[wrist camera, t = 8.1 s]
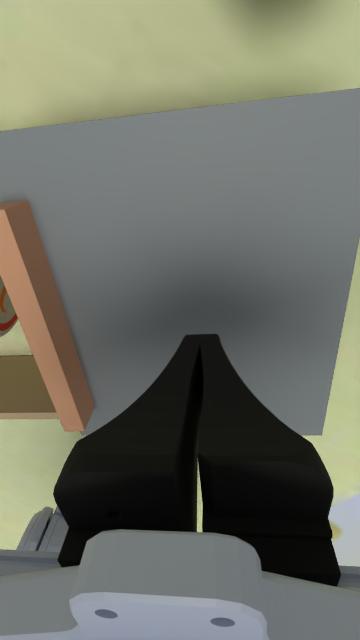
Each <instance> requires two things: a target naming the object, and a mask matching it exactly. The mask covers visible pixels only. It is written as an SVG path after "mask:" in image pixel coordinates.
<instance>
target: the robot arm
mask: <svg viewBox="0 0 360 640" xmlns="http://www.w3.org/2000/svg"><path fill="white" fill-rule="evenodd" d="M198 463H199V473H200V482H201V492H202V501H203V521H202V531H203V532H197V466H198ZM53 495H54V498H55V502H56V504H57V507H56V510H55V512H54V514H53V508H50V507H45V508H44V509H43V510H42V511H39V512H38V513H36V514H34V516H33V517H32V519H31V521H30V522H29V524H28V526H27V528H26V530H25V532H24V534H23V536H22V538H21V541H20V543H19V545H18V547H17V549H16V550H2V549H0V640H360V567H356V566H339V565H338V562H337V558H336V555H335V552H334V548H333V545H332V541H331V539H332V530H331V527H330V523H329V520H328V515H329V511H330V507H331V503H332V499H333V485H332V482H331V479H330V477H329V474H328V472H327V470H326V468H325V466H324V464H323V462H322V460H321V458H320V456H319V454H318V453H317V451H316V449H315V448H314V446H313V444H312V443H311V442H309V441H308V440H306V439H305V438H303V437H302V436H301V435H299V434H298V433H296V432H295V431H293V430H292V429H290V428H289V427H288V426H287V425H285V424H284V423H283V422H282V421H281V420H279V419H278V418H277V417H276V416H275V415H274V414H273V413H272V412H271V411H270V410H269V409H267V408H266V407H265V406H264V405H263V404H262V403H261V402H260V401H259V400H258V399H257V397H256V396H255V395H254V394H253V393H252V392H251V391H250V389H249V388H248V387H247V386H246V384H245V383H244V382H243V381H242V379H241V378H240V376H239V375H238V373H237V372H236V370H235V369H234V367H233V366H232V364H231V362H230V360H229V359H228V357H227V355H226V353H225V351H224V349H223V347H222V344H221V341H220V337H219V335H218V334H192V335H185V336H184V337H183V339H182V341H181V343H180V345H179V347H178V349H177V350H176V352H175V354H174V355H173V357H172V358H171V360H170V361H169V363H168V364H167V366H166V367H165V368H164V370H163V371H162V372H161V373H160V375H159V376H158V377H157V379H156V380H155V381H154V382H153V383H152V384H151V386H150V387H149V388H148V389H147V390H146V391H145V392H144V393H143V394H142V395H141V396H140V397H139V398H138V399H137V400H136V401H135V402H133V403H132V404H131V405H130V406H129V407H128V408H127V409H126V410H124V411H123V412H122V413H120V414H119V415H118V416H116V417H115V418H114V419H112V420H111V421H110V422H108V423H107V424H105V425H104V426H102V427H101V428H99V429H97V430H96V431H94V432H92V433H91V434H89V435H88V436H86V437H84V438H83V439H81V440H79V441H77V442H76V444H75V446H74V448H73V449H72V451H71V453H70V454H69V456H68V458H67V460H66V462H65V464H64V467H63V469H62V471H61V473H60V476H59V478H58V480H57V483H56V485H55V487H54V493H53Z"/></svg>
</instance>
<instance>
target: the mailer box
mask: <svg viewBox="0 0 360 640" xmlns="http://www.w3.org/2000/svg"><path fill="white" fill-rule="evenodd" d="M0 419H59V417H58V414H57V412H56V409H55V407H54V405H53V402H52V400H51V397H50V395H49V392H48V390H47V387H46V385H45V383H44V380H43V378H42V375H41V373H40V370H39V368H38V366H37V363H36V361H35V358H34V356H33V355H28V356H0Z"/></svg>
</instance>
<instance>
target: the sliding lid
mask: <svg viewBox="0 0 360 640" xmlns="http://www.w3.org/2000/svg"><path fill="white" fill-rule="evenodd" d="M359 238H360V88H356V89H347V90H339V91H331V92H323V93H314V94H306V95H298V96H289V97H281V98H273V99H265V100H256V101H248V102H240V103H231V104H223V105H215V106H207V107H198V108H190V109H182V110H173V111H165V112H157V113H149V114H140V115H132V116H124V117H115V118H107V119H99V120H90V121H82V122H74V123H66V124H57V125H49V126H41V127H32V128H24V129H16V130H8V131H0V275H1V278H2V280H3V283H4V285H5V288H6V290H7V292H8V295H9V297H10V300H11V302H12V305H13V307H14V310H15V312H16V314H17V317H18V319H19V322H20V324H21V327H22V329H23V331H24V334H25V336H26V339H27V341H28V344H29V346H30V349H31V351H32V353H33V356H34V358H35V361H36V363H37V366H38V368H39V370H40V373H41V375H42V378H43V380H44V383H45V385H46V387H47V390H48V392H49V395H50V397H51V400H52V402H53V405H54V407H55V409H56V412H57V414H58V417H59V419H60V422H61V424H62V426H63V429H64V431H80V432H81V435H89V434H91V433H92V432H94V431H96V430H97V429H99V428H101V427H102V426H104V425H105V424H107V423H108V422H110V421H111V420H112V419H114V418H115V417H116V416H118V415H119V414H120V413H122V412H123V411H124V410H126V409H127V408H128V407H129V406H130V405H131V404H132V403H133V402H135V401H136V400H137V399H138V398H139V397H140V396H141V395H142V394H143V393H144V392H145V391H146V390H147V389H148V388H149V387H150V386H151V384H152V383H153V382H154V381H155V380H156V379H157V377H158V376H159V375H160V373H161V372H162V371H163V370H164V368H165V367H166V366H167V364H168V363H169V361H170V360H171V358H172V357H173V355H174V354H175V352H176V350H177V349H178V347H179V345H180V343H181V341H182V339H183V337H184V336H185V335H192V334H218V335H219V337H220V341H221V344H222V347H223V349H224V351H225V353H226V355H227V357H228V359H229V360H230V362H231V364H232V366H233V367H234V369H235V370H236V372H237V373H238V375H239V376H240V378H241V379H242V381H243V382H244V383H245V384H246V386H247V387H248V388H249V389H250V391H251V392H252V393H253V394H254V395H255V396H256V397H257V399H258V400H259V401H260V402H261V403H262V404H263V405H264V406H265V407H266V408H267V409H269V410H270V411H271V412H272V413H273V414H274V415H275V416H276V417H277V418H278V419H279V420H281V421H282V422H283V423H284V424H285V425H287V426H288V427H289V428H290V429H292V430H293V431H295V432H296V433H298V434H299V435H322V432H323V426H324V421H325V416H326V411H327V405H328V400H329V395H330V390H331V384H332V379H333V374H334V369H335V363H336V358H337V353H338V348H339V343H340V337H341V332H342V327H343V322H344V316H345V311H346V306H347V301H348V295H349V290H350V285H351V280H352V274H353V269H354V264H355V259H356V253H357V248H358V243H359Z"/></svg>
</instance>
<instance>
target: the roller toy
mask: <svg viewBox="0 0 360 640" xmlns="http://www.w3.org/2000/svg"><path fill="white" fill-rule="evenodd" d="M17 320H18V317H17V314H16V312H15V310H14V307H13V305H12V302H11V300H10V297H9V295H8V292H7V290H6V288H5V285H4V283H3V280H2V278H1V275H0V337H1V336H3V335H5V334H6V333H7V332H9V331H10V330H11V328H12V327H13V326H14V325H15V323H16V322H17Z"/></svg>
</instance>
